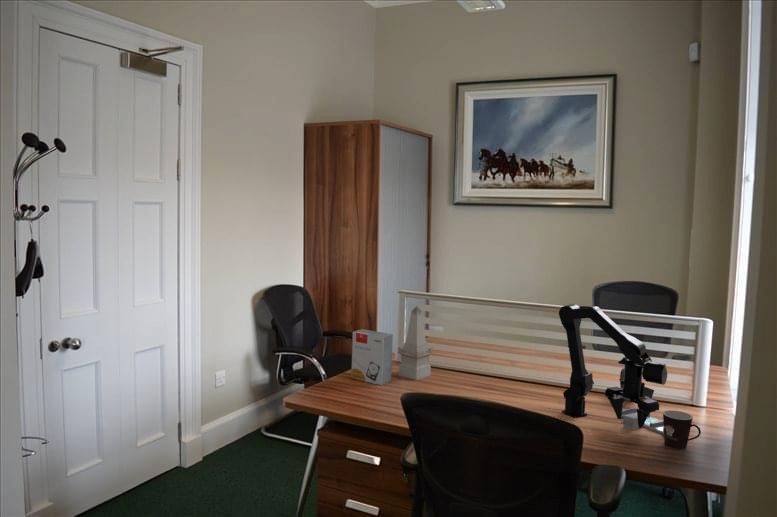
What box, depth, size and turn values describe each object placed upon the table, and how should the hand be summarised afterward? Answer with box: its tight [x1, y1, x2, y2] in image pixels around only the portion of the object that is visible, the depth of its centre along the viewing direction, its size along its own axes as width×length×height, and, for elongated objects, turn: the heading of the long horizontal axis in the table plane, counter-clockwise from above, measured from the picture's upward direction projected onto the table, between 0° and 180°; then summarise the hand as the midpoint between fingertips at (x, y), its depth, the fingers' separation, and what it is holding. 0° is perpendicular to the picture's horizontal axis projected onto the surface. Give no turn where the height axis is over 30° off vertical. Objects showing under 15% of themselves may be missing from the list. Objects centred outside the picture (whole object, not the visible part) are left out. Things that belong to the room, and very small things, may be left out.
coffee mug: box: [662, 409, 702, 450], centre depth 203 cm, size 12×9×10 cm
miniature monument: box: [397, 306, 434, 381], centre depth 273 cm, size 10×10×30 cm
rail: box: [621, 407, 664, 436], centre depth 223 cm, size 8×20×2 cm, turn 27°
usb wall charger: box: [620, 414, 640, 431], centre depth 219 cm, size 4×7×4 cm, turn 123°
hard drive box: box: [350, 328, 394, 386], centre depth 265 cm, size 16×8×20 cm, turn 58°
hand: (629, 423), depth 219 cm, fingers open, 9 cm apart
